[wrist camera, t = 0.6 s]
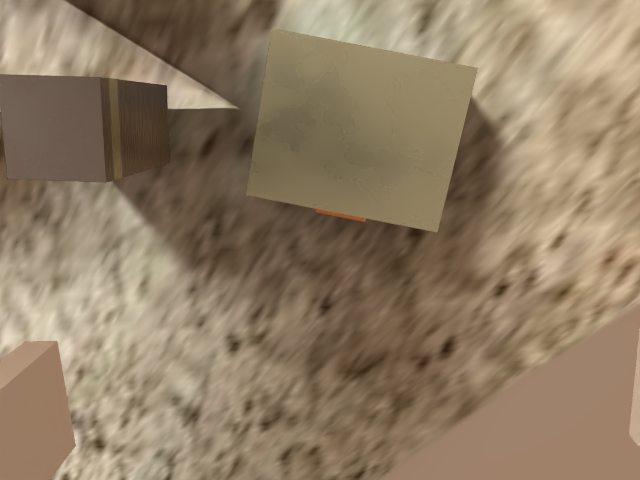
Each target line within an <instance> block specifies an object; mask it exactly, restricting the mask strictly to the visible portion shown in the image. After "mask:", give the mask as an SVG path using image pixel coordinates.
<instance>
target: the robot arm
mask: <svg viewBox="0 0 640 480" xmlns="http://www.w3.org/2000/svg"><path fill="white" fill-rule="evenodd" d="M629 435H630V436H631V438H632V439H633V440H634V441H635V442H636V444H637V445H638V446H639V447H640V331H639V342H638V352H637V362H636V371H635V381H634V391H633V400H632V410H631V420H630V431H629ZM75 446H76V445H75V439H74V433H73V428H72V422H71V416H70V411H69V405H68V399H67V394H66V388H65V382H64V377H63V371H62V365H61V360H60V354H59V348H58V343H57V341H38V342H24V343H23V344H22V345H20V346H19V347H18V348H16V349H15V350H14V351H12V352H11V353H10V354H9V355H7V356H6V357H5V358H3V359H2V360H1V361H0V480H50V479H51V477H52V476H53V475H54V474H55V472H56V471H57V470H58V468H59V467H60V466H61V464H62V463H63V462H64V460H65V459H66V458H67V457H68V455H69V454H70V453H71V451H72V450H73V449H74V447H75Z"/></svg>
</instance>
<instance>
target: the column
mask: <svg viewBox="0 0 640 480" xmlns="http://www.w3.org/2000/svg"><path fill="white" fill-rule="evenodd" d="M0 111H1V120H2V130H3V140H4V150H5V159H6V169H7V179H26V180H54V181H82V182H109V181H112V180H117V179H120V178H122V177H125V176H128V175H132V174H135V173H138V172H142V171H145V170H148V169H151V168H155V167H158V166H161V165H164V164H168V163H169V134H168V105H167V85H159V84H151V83H143V82H135V81H127V80H118V79H114V78H102V77H76V76H40V75H5V74H0Z"/></svg>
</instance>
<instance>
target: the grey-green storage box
mask: <svg viewBox="0 0 640 480" xmlns="http://www.w3.org/2000/svg"><path fill="white" fill-rule="evenodd" d="M477 70H478V68H475V67H470V66H465V65H459V64H454V63H449V62H444V61H439V60H434V59H428V58H423V57H418V56H413V55H408V54H403V53H397V52H392V51H387V50H382V49H377V48H371V47H366V46H361V45H356V44H351V43H346V42H340V41H335V40H330V39H325V38H320V37H314V36H309V35H304V34H299V33H294V32H289V31H283V30H278V29H273V28H272V31H271V37H270V43H269V50H268V56H267V63H266V69H265V75H264V82H263V88H262V94H261V101H260V107H259V113H258V120H257V126H256V132H255V139H254V145H253V151H252V158H251V164H250V171H249V177H248V183H247V190H246V195H248V196H253V197H258V198H263V199H268V200H273V201H279V202H284V203H289V204H294V205H299V206H304V207H309V208H314V209H316V210H315V212H316V213H321V214H326V215H332V216H337V217H342V218H347V219H352V220H357V221H362V222H366V219H371V220H376V221H381V222H386V223H391V224H397V225H402V226H407V227H412V228H417V229H422V230H427V231H433V232H438V228H439V224H440V220H441V216H442V212H443V208H444V204H445V200H446V196H447V192H448V188H449V184H450V180H451V175H452V171H453V167H454V163H455V159H456V155H457V151H458V147H459V143H460V139H461V135H462V131H463V127H464V123H465V118H466V114H467V110H468V106H469V102H470V98H471V94H472V90H473V86H474V82H475V78H476V74H477Z"/></svg>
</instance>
